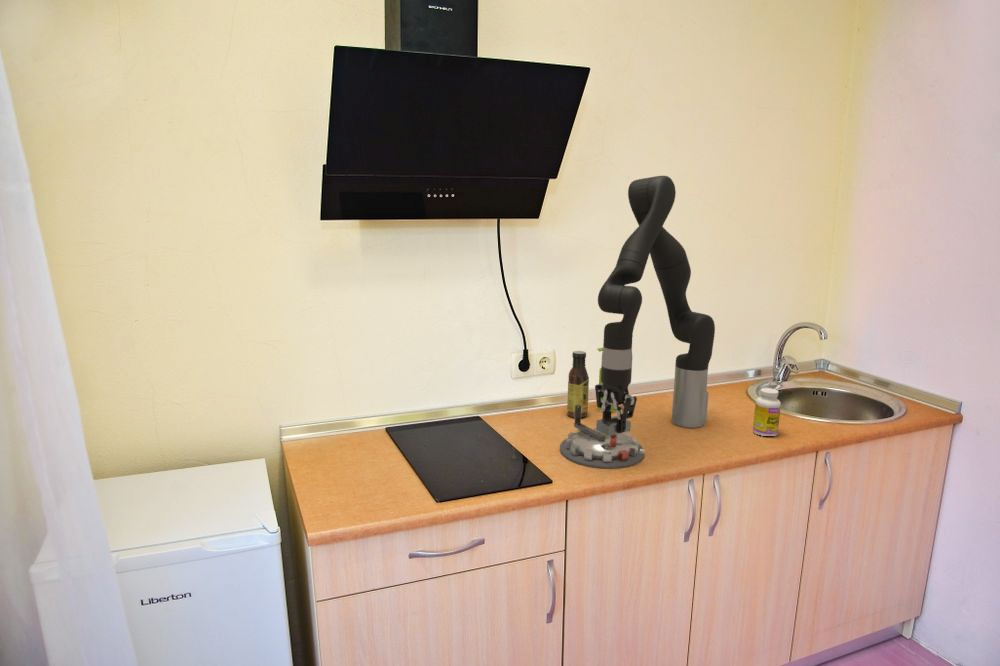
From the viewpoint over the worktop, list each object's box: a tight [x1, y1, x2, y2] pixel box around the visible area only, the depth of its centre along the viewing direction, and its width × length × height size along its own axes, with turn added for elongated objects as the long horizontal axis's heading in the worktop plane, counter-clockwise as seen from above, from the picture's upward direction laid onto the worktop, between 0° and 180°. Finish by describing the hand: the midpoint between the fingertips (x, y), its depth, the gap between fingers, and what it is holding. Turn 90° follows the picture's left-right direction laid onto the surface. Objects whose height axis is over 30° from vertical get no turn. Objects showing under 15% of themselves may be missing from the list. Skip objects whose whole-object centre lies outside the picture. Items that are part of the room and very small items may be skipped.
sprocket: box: [565, 405, 640, 462], centre depth 171 cm, size 19×21×8 cm
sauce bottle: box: [566, 350, 590, 419], centre depth 196 cm, size 6×6×20 cm
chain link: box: [595, 415, 632, 436], centre depth 165 cm, size 7×5×2 cm
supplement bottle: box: [752, 387, 782, 437], centre depth 183 cm, size 7×7×13 cm
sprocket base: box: [559, 438, 646, 470], centre depth 171 cm, size 22×22×2 cm
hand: (613, 428), depth 165 cm, fingers closed on chain link, 5 cm apart
